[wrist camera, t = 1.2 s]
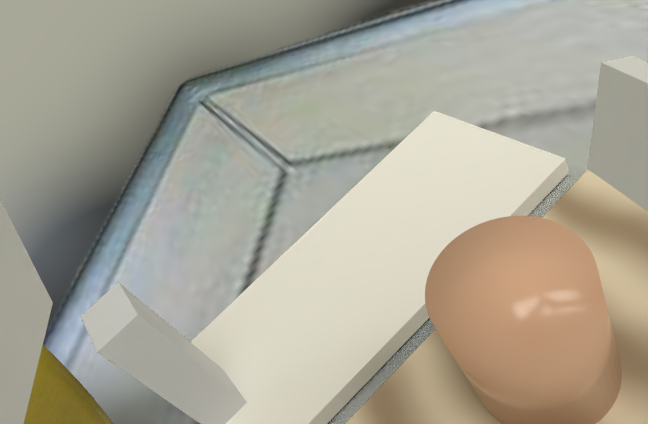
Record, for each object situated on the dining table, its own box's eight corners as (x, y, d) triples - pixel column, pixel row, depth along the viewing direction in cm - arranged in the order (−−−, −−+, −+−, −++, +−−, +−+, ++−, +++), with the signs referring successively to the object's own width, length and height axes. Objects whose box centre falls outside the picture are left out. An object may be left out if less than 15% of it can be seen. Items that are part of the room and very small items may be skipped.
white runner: (439, 122, 54) (385, -4, 45) (569, 172, 43) (530, 20, 35) (177, 373, 48) (57, 283, 40) (253, 500, 38) (114, 415, 29)
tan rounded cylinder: (532, 286, 37) (497, 194, 31) (654, 357, 31) (638, 260, 25) (447, 378, 36) (393, 299, 30) (557, 471, 30) (517, 395, 24)
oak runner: (593, 181, 42) (559, 24, 33) (823, 269, 31) (861, 73, 23) (268, 523, 36) (126, 441, 28) (418, 769, 26) (264, 761, 17)
